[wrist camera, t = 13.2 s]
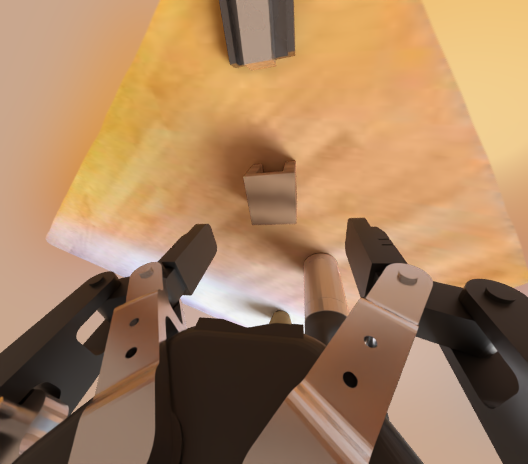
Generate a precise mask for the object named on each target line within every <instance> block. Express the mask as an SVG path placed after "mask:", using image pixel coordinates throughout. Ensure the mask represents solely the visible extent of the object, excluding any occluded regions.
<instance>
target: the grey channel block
mask: <svg viewBox="0 0 528 464" xmlns="http://www.w3.org/2000/svg"><path fill="white" fill-rule="evenodd" d="M219 3H220V9H221V14H222V20H223V26H224V32H225V38H226V44H227V50H228V56H229V62H230V65H232V66H233V67H235V68H237V67H242V66H245V65H244V60H243V52H242V44H241V36H240V28H239V20H238V12H237V4H236V0H219ZM272 8H273V26H274V43H275V60H276V59H281V58H286V57H291V56H295V28H294V0H272Z"/></svg>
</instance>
